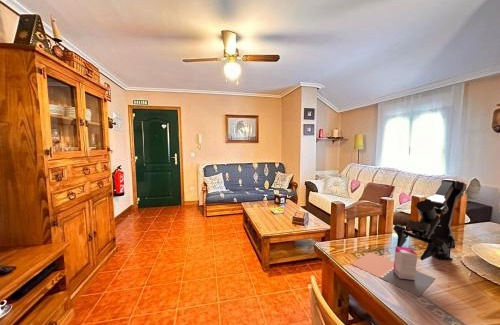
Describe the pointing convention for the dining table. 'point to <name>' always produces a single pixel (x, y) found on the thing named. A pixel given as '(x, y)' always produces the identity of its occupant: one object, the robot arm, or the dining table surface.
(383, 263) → the ticket mat
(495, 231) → the dining table surface
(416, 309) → the dining table surface
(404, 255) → the supplement box
